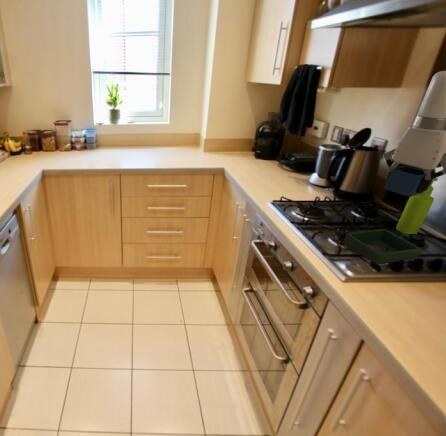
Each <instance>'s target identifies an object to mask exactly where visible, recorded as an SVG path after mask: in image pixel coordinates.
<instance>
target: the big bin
mask: <svg viewBox="0 0 446 436" xmlns="http://www.w3.org/2000/svg"><path fill="white" fill-rule="evenodd" d="M343 243H344V244H345V245H346V247H347V248H348V249H350V250H351V251H353V252H355V253H357V254H360V255H362V256H363V257H365V258H367V259H368V260H371V261H374V262H375V263H378V264H385V263H389V262H395V261H400V260H411V259H417V260H418V259H419V257H420V255H421V253H422V251H423V248H422V247H419V246H418V245H416V244H414V243H412V242H410V241H408V240H407V239H404V238H403V237H401V236H399V235H397V234H396V233H393V232H391V231H390V230H388V229H386V228H380V229H372V230H364V231H356V232H348V233H345V236H344V238H343V241H342V244H343ZM368 245H371V246H372V245H377V246H381V247H382V252H383V253H381V254H380V253H379V252H377V251H376V250H374V249H372V248H371V247H369V246H368ZM386 247H389V250H388V251H386V250H385V248H386ZM347 248H346V249H347ZM348 249H347V250H348ZM350 250H349V251H350ZM351 251H350V252H351ZM353 252H352V253H353Z"/></svg>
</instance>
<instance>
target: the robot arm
mask: <svg viewBox="0 0 446 436" xmlns="http://www.w3.org/2000/svg"><path fill="white" fill-rule="evenodd" d="M382 156H383V158H384V160H385V163H386V165H387V167H388V170H389V172H388V174H387V177H386V181H387V180H388V177H389V175H390V173H391V170H392V169H395V168H399V167H402V166H409V167H413V168H417V169H421V170H424V176H425V177H424V179H422V180H421V182H420V184H419V186H418V188H417V190H416V193H422V192H424V191H426V190H427V189H428V187H429V185H430V183H431V181H432V179H434V178H439V177H442V176H444V175H446V70H440V71H438V72H436V73H435V74H434V75H433V76H432V78H431V80H430V83H429V85H428V87H427V89H426V91H425V94H424V97H423V98H422V101H421V104H420V106H419V109H418V111H417V114H416V116H415V119H414V121H413V124H412V125H410V126H409V127H408V128H407V129H406V131H404V133H403V135H402V136H401V138H400V140H399V142H398V144H397V146H396V148H393V149H392V150H389V151H386V152H383V154H382ZM437 168H442V169H441V170H439V171H436V169H437Z"/></svg>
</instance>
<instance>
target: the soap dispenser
mask: <svg viewBox="0 0 446 436" xmlns="http://www.w3.org/2000/svg"><path fill="white" fill-rule="evenodd" d="M438 180H439V177H437V178H434V179H432V181H431V183H430V185H429V187H428V189H427V190H426V191H424V192H423V193H421V194H418V195H415V196H412V197H409V198H408V200H407V201H406V205H405V206H404V208H403V211H402V213H401V216H400V217H399V220H398V222H397V224H396V227H395V229H396V230H397V232H399V233H402V234H405V235H409V234H416V235H418V233H419V231H420V229H421V227H422V225H423V223H424V221H425V219H426V217H427V215H428V213H429V211H430V209H431V206H432V205H433V203H434V201H435V198H434V197H433V196H431V195H432V193H433V191H434V189H435V188H434V187H433V186H432V185H433V183H434V182H437V181H438Z"/></svg>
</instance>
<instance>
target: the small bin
mask: <svg viewBox="0 0 446 436" xmlns="http://www.w3.org/2000/svg"><path fill="white" fill-rule="evenodd" d="M387 177H388V176H387ZM424 177H425V176H424V169H421V168H417V167H413V166H409V165H402V166H401V167H399V168H395V169H392V170H391V173H390V175H389V177H388V180H387V179H386V183H385V185H384V188H383V190H386V191H389V192H392V193H395V194H399V195H401V196H405V197H409V198H410V197H412V196H415V195H418V194H421V193H416V190H417V188H418V186H419V184H420V182H421V180H422V179H424ZM422 193H423V192H422Z"/></svg>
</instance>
